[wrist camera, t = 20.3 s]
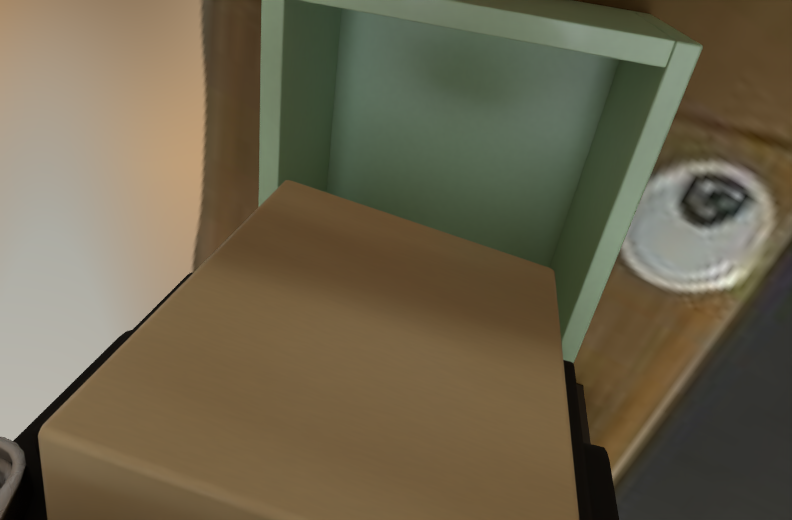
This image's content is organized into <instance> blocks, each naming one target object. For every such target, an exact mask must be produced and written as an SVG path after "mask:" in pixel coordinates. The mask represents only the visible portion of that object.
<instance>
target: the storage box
mask: <svg viewBox="0 0 792 520" xmlns="http://www.w3.org/2000/svg"><path fill="white" fill-rule="evenodd" d="M702 48H703V46H702V45H701V44H699V43H697V42H696V41H694V40H692V39H691V38H689V37H688V36H686V35H684V34H683V33H681V32H679V31H678V30H676V29H674V28H673V27H671V26H669V25H668V24H666V23H664V22H663V21H661V20H660V19H658V18H656V17H655V16H653V15H651V14H647V13H642V12H636V11H630V10H625V9H619V8H613V7H608V6H602V5H596V4H590V3H585V2H579V1H573V0H262V4H261V76H260V148H259V206H260V205H261V204H262V203H263V202H264V201H265V200H266V199H267V198H268V197H269V196H270V195H271V194H272V193H273V192H274V191H275V190H276V189H277V188H278V187H279V186H280V185H281V184H282V183H283V182H284V181H285V180H291V181H294V182H297V183H300V184H303V185H306V186H309V187H312V188H315V189H318V190H321V191H324V192H327V193H329V194H332V195H335V196H338V197H341V198H344V199H347V200H350V201H353V202H356V203H359V204H362V205H365V206H368V207H371V208H374V209H377V210H380V211H383V212H386V213H389V214H392V215H395V216H398V217H401V218H404V219H407V220H410V221H412V222H415V223H418V224H421V225H424V226H427V227H430V228H433V229H436V230H439V231H442V232H445V233H448V234H451V235H454V236H457V237H460V238H463V239H466V240H469V241H472V242H475V243H478V244H481V245H484V246H487V247H490V248H493V249H496V250H498V251H501V252H504V253H507V254H510V255H513V256H516V257H519V258H522V259H525V260H528V261H531V262H534V263H537V264H540V265H543V266H546V267H549V268H551V269H553V270H554V272H555V282H556V292H557V302H558V312H559V322H560V332H561V342H562V352H563V360H566V361H570V362H572V363H574V361H575V358H576V356H577V353H578V351H579V349H580V346H581V344H582V341H583V339H584V336H585V334H586V332H587V329H588V327H589V324H590V322H591V319H592V317H593V314H594V312H595V310H596V307H597V305H598V302H599V300H600V297H601V295H602V292H603V290H604V288H605V285H606V283H607V280H608V278H609V275H610V273H611V270H612V268H613V266H614V263H615V261H616V258H617V256H618V253H619V251H620V248H621V246H622V244H623V241H624V239H625V236H626V234H627V231H628V229H629V226H630V224H631V222H632V219H633V217H634V214H635V212H636V209H637V207H638V204H639V202H640V200H641V197H642V195H643V192H644V190H645V187H646V185H647V183H648V180H649V178H650V175H651V173H652V170H653V168H654V165H655V163H656V161H657V158H658V156H659V153H660V151H661V148H662V146H663V143H664V141H665V139H666V136H667V134H668V131H669V129H670V126H671V124H672V121H673V119H674V117H675V114H676V112H677V109H678V107H679V104H680V102H681V99H682V97H683V95H684V92H685V90H686V87H687V85H688V82H689V80H690V77H691V75H692V73H693V70H694V68H695V65H696V63H697V60H698V58H699V56H700V53H701V51H702Z"/></svg>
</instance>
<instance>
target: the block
mask: <svg viewBox="0 0 792 520" xmlns="http://www.w3.org/2000/svg"><path fill="white" fill-rule="evenodd" d="M38 441H39V450H40V458H41V467H42V476H43V485H44V493H45V502H46V511H47V519H48V520H579V512H578V502H577V492H576V482H575V472H574V462H573V452H572V442H571V432H570V422H569V412H568V402H567V392H566V382H565V372H564V362H563V352H562V342H561V332H560V322H559V312H558V302H557V292H556V282H555V272H554V270H553V269H551V268H549V267H546V266H543V265H540V264H537V263H534V262H531V261H528V260H525V259H522V258H519V257H516V256H513V255H510V254H507V253H504V252H501V251H498V250H496V249H493V248H490V247H487V246H484V245H481V244H478V243H475V242H472V241H469V240H466V239H463V238H460V237H457V236H454V235H451V234H448V233H445V232H442V231H439V230H436V229H433V228H430V227H427V226H424V225H421V224H418V223H415V222H412V221H410V220H407V219H404V218H401V217H398V216H395V215H392V214H389V213H386V212H383V211H380V210H377V209H374V208H371V207H368V206H365V205H362V204H359V203H356V202H353V201H350V200H347V199H344V198H341V197H338V196H335V195H332V194H329V193H327V192H324V191H321V190H318V189H315V188H312V187H309V186H306V185H303V184H300V183H297V182H294V181H291V180H285V181H284V182H283V183H282V184H281V185H280V186H279V187H278V188H277V189H276V190H275V191H274V192H273V193H272V194H271V195H270V196H269V197H268V198H267V199H266V200H265V201H264V202H263V203H262V204H261V205H260V206H259V207H258V208H257V209H256V210H255V211H254V212H253V213H252V214H251V215H250V216H249V218H248V219H247V220H246V221H245V222H244V223H243V224H242V225H241V226H240V227H239V228H238V229H237V230H236V231H235V232H234V233H233V234H232V235H231V236H230V237H229V238H228V239H227V240H226V241H225V242H224V243H223V244H222V245H221V246H220V247H219V248H218V249H217V250H216V251H215V252H214V253H213V254H212V255H211V256H210V257H209V258H208V259H207V260H206V261H205V262H204V263H203V264H202V265H201V266H200V267H199V268H198V269H197V270H196V271H195V272H194V273H193V274H192V275H191V276H190V277H189V278H188V279H187V280H186V281H185V282H184V283H183V284H182V285H181V286H180V287H179V288H178V289H177V290H176V291H175V292H174V293H173V294H172V295H171V296H170V297H169V298H168V299H167V300H166V301H165V302H164V303H163V304H162V305H161V306H160V307H159V308H158V309H157V310H156V311H155V312H154V313H153V314H152V315H151V316H150V317H149V318H148V319H147V320H146V321H145V322H144V323H143V324H142V325H141V326H140V327H139V328H138V329H137V330H136V331H135V332H134V333H133V334H132V335H131V336H130V337H129V338H128V339H127V340H126V341H125V342H124V343H123V344H122V345H121V346H120V347H119V348H118V349H117V350H116V351H115V352H114V353H113V354H112V355H111V356H110V357H109V358H108V359H107V361H106V362H105V363H104V364H103V365H102V366H101V367H100V368H99V369H98V370H97V371H96V372H95V373H94V374H93V375H92V376H91V377H90V378H89V379H88V380H87V381H86V382H85V383H84V384H83V385H82V386H81V387H80V388H79V389H78V390H77V391H76V392H75V393H74V394H73V395H72V396H71V397H70V398H69V399H68V400H67V401H66V402H65V403H64V404H63V405H62V406H61V407H60V408H59V409H58V410H57V411H56V412H55V413H54V414H53V415H52V416H51V417H50V418H49V419H48V420H47V421H46V422H45V423H44V424H43V425H42V427H41V429H40V431H39V434H38Z"/></svg>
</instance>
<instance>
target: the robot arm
mask: <svg viewBox="0 0 792 520" xmlns="http://www.w3.org/2000/svg"><path fill="white" fill-rule="evenodd" d="M193 273H194V272H193ZM193 273H190V274H188V275H187V276H186V277H185V278H184V279H183V280H182V281H181V282H180V283H179V284H178V285H177V286H176V287H175V288H174V289H173V290H172V291H171V292H170V293H169V294H168V295H167V296H166V297H165V298H164V299H163V300H162V301H161V302H160V303H159V304H158V305H157V306H156V307H155V308H154V309H153V310H152V311H151V312H150V313H149V314H148V315H147V316H146V317H145V318H144V319H143V320H142V321H141V322H140V323H139V324H138V325H137V326H136V327H135V328H134V329H133V330H130V331H127V332H125V333H124V334H122V335H121V336H120V337H119V338H118V339H117V340H116V341H115V342H114V343H113V344H112V345H110V347H108V348H107V349H106V350H105V351H104V352H103V353H102V354H101V355H100V356H99V357H98V358H97V359H96V360H95V361H94V362H93V363H92V364H91V365H90V366H89V367H88V368H87V369H86V370H85V371H84V372H83V373H82V374H81V375H80V376H79V377H78V378H77V379H76V380H75V381H74V382H73V383H72V384H71V385H70V386H69V387H68V388H67V389H66V390H65V391H64V392H63V393H62V394H61V395H60V396H59V397H58V398H57V399H56V400H55V401H54V402H52V404H50V406H48V407H47V408H46V409H45V410H44V411H43V412H42V413H41V414H40V415H39V416H38V418H36V419H35V420H34V421H33V422H32V423H31V424H30V425H29V426H28V427H27V428H26V429H25V430H24V431H23V432H22V433H21V434H20V435H19V436H18V437H17V438H16V439H15V440H14V441H11V440H9V439H6V438H5V437H0V520H48V519H47V511H46V502H45V493H44V485H43V476H42V467H41V458H40V450H39V441H38V434H39V431H40V429H41V427H42V425H43V424H44V423H45V422H46V421H47V420H48V419H49V418H50V417H51V416H52V415H53V414H54V413H55V412H56V411H57V410H58V409H59V408H60V407H61V406H62V405H63V404H64V403H65V402H66V401H67V400H68V399H69V398H70V397H71V396H72V395H73V394H74V393H75V392H76V391H77V390H78V389H79V388H80V387H81V386H82V385H83V384H84V383H85V382H86V381H87V380H88V379H89V378H90V377H91V376H92V375H93V374H94V373H95V372H96V371H97V370H98V369H99V368H100V367H101V366H102V365H103V364H104V363H105V362H106V361H107V359H108V358H109V357H110V356H111V355H112V354H113V353H114V352H115V351H116V350H117V349H118V348H119V347H120V346H121V345H122V344H123V343H124V342H125V341H126V340H127V339H128V338H129V337H130V336H131V335H132V334H133V333H134V332H135V331H136V330H137V329H138V328H139V327H140V326H141V325H142V324H143V323H144V322H145V321H146V320H147V319H148V318H149V317H150V316H151V315H152V314H153V313H154V312H155V311H156V310H157V309H158V308H159V307H160V306H161V305H162V304H163V303H164V302H165V301H166V300H167V299H168V298H169V297H170V296H171V295H172V294H173V293H174V292H175V291H176V290H177V289H178V288H179V287H180V286H181V285H182V284H183V283H184V282H185V281H186V280H187V279H188V278H189V277H190V276H191V275H192V274H193ZM563 362H564V372H565V382H566V392H567V402H568V412H569V422H570V432H571V442H572V452H573V462H574V472H575V482H576V492H577V502H578V512H579V520H619V516H618V510H617V504H616V498H615V492H614V486H613V480H612V474H611V468H610V462H609V457H608V454H607V451H606V450H605V448H604V447H600V446H596V445H592V444H588V443H584V442H583V436H582V428H581V419H580V411H579V403H578V394H577V386H576V378H575V369H574V364H573V363H572V362H570V361H566V360H563Z"/></svg>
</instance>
